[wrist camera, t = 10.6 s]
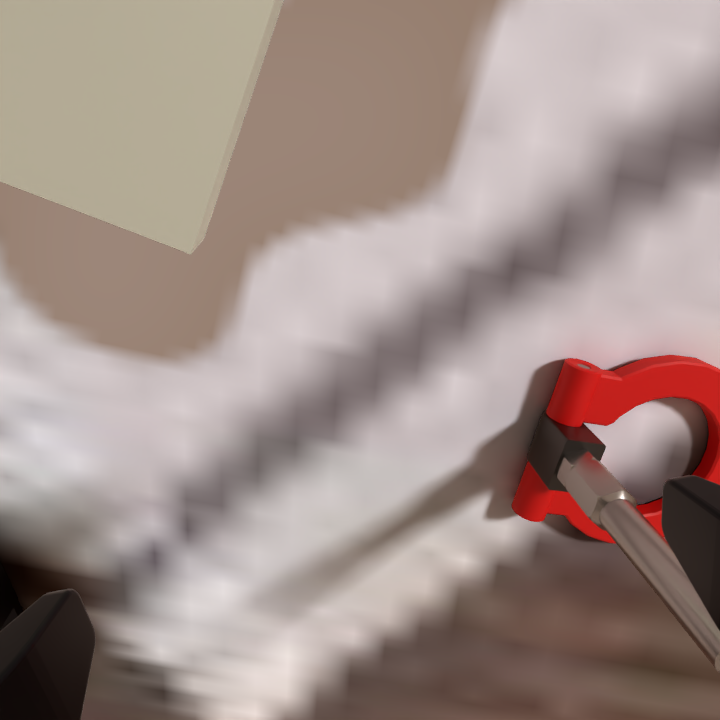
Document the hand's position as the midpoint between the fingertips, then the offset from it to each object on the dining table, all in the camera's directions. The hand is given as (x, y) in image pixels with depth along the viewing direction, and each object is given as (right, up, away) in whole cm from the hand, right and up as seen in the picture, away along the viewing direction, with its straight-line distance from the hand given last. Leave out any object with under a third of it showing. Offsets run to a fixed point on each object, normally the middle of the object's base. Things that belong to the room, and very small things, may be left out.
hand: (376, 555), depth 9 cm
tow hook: (+11, 0, +16) cm, 19 cm away
